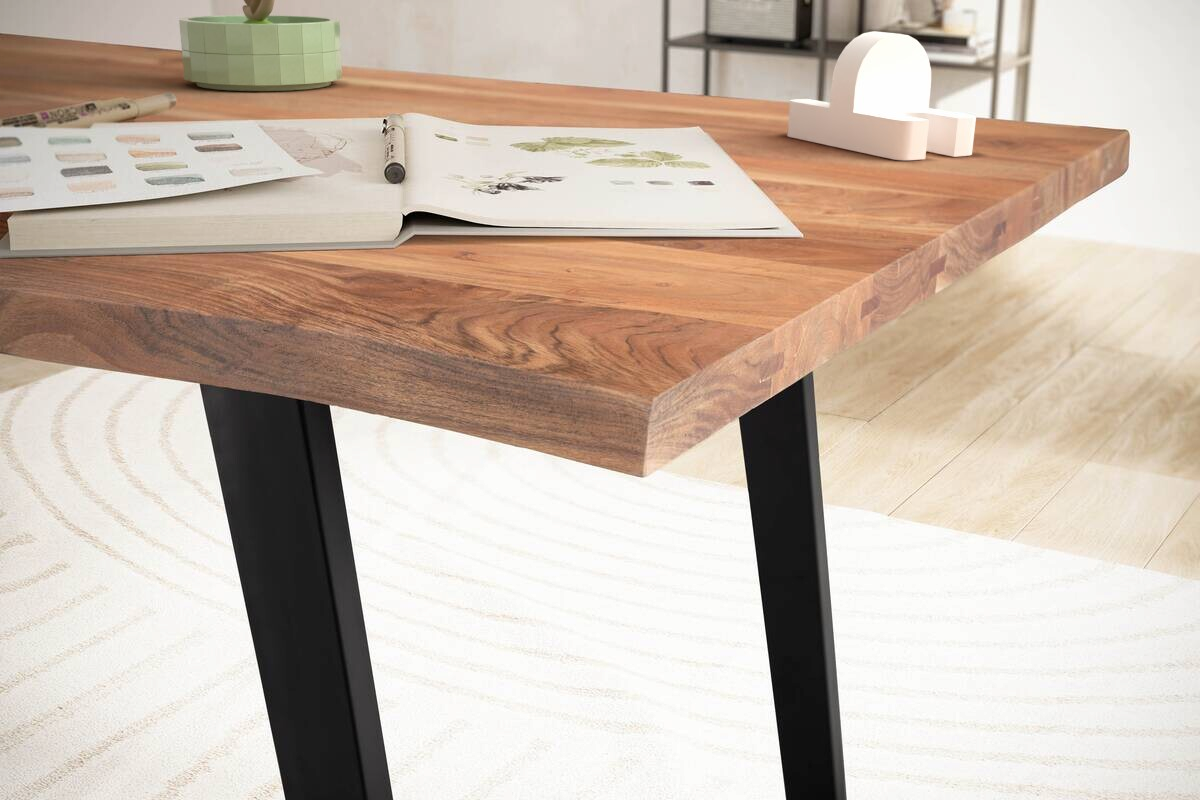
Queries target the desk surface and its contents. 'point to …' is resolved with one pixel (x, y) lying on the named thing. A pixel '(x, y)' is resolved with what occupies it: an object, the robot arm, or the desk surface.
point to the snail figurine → (258, 10)
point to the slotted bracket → (882, 104)
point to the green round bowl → (261, 52)
